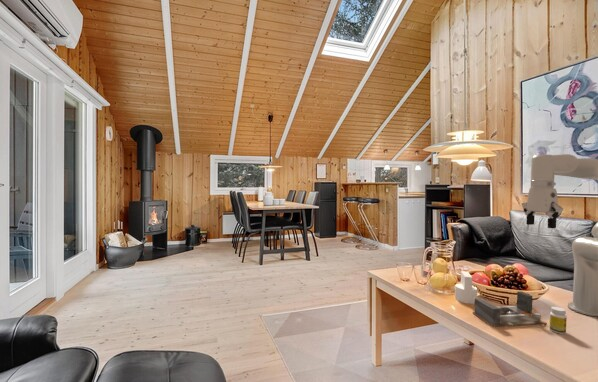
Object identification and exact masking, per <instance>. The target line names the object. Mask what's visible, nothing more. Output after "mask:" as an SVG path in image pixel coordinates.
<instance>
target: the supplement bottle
mask: <svg viewBox="0 0 598 382" xmlns="http://www.w3.org/2000/svg"><path fill="white" fill-rule="evenodd" d="M550 309H551V310H550V312H549V325H548V327H549V330H550V331H551V332H552V333H556V334H560V335H565V334H566V333H567V320H568V319H567V315H566V309H564V308H562V307H559V306H551V308H550Z"/></svg>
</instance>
